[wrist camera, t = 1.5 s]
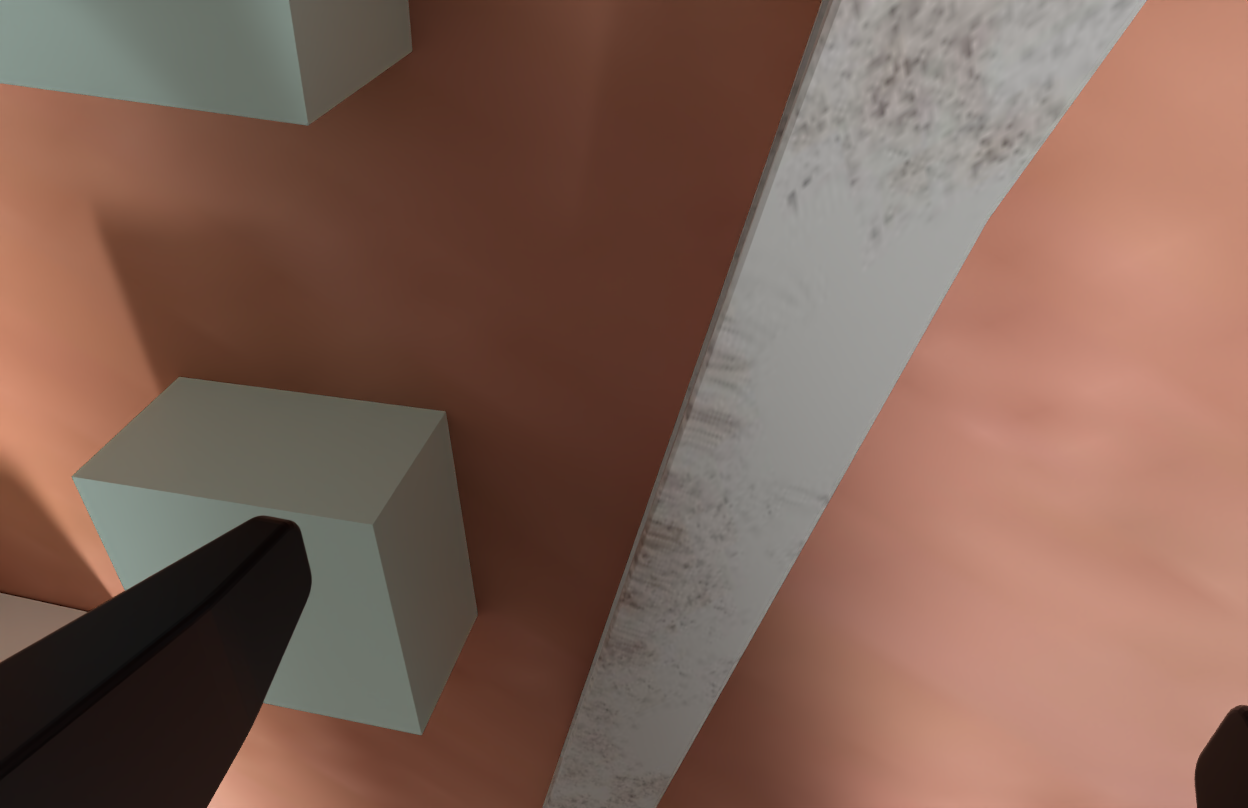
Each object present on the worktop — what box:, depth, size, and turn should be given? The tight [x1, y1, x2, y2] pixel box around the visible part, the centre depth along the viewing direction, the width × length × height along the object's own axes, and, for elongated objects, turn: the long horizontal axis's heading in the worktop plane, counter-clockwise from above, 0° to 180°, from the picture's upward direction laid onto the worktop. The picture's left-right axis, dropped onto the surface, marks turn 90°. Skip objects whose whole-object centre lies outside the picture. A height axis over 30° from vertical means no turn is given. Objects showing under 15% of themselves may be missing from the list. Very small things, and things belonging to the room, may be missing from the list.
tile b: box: [72, 377, 478, 735], centre depth 17 cm, size 5×5×3 cm
